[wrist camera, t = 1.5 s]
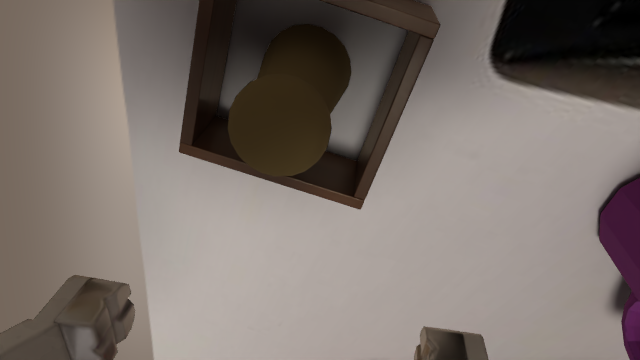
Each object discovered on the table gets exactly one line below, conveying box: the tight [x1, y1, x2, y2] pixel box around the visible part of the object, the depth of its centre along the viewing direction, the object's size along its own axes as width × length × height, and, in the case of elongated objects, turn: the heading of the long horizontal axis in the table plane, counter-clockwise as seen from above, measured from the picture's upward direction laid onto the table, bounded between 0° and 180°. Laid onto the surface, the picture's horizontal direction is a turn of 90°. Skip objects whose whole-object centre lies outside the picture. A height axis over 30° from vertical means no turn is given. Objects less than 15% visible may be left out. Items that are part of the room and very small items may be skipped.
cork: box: [228, 24, 351, 176], centre depth 26 cm, size 6×6×11 cm
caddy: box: [179, 0, 440, 209], centre depth 28 cm, size 13×13×5 cm
